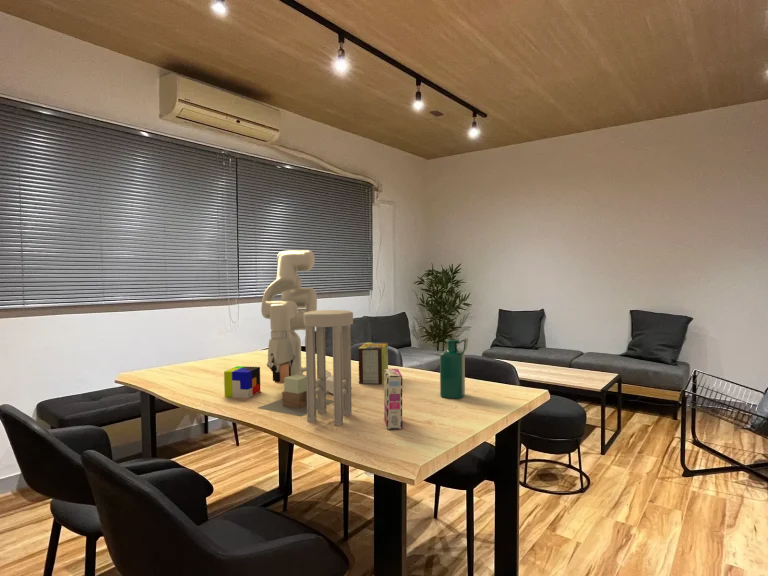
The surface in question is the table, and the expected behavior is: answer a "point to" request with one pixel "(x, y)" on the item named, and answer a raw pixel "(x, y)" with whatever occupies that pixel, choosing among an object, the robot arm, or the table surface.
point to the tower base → (294, 399)
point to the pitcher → (453, 370)
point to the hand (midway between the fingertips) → (282, 378)
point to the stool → (340, 362)
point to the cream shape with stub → (329, 382)
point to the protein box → (372, 362)
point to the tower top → (295, 384)
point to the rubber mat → (289, 408)
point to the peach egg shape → (283, 372)
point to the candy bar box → (393, 398)
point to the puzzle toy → (242, 381)
